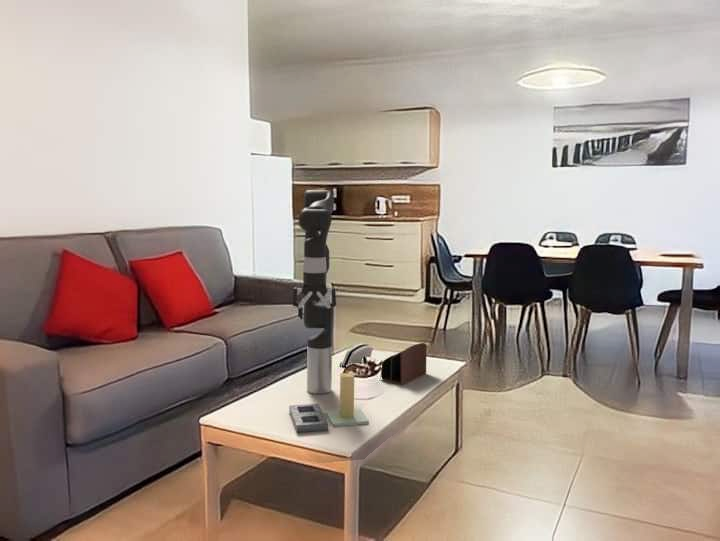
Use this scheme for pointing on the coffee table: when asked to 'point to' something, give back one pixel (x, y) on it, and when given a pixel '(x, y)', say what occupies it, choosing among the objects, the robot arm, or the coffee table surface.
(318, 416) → the frame with square holes
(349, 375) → the plug
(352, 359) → the grey curved piece
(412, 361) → the letter holder
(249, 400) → the coffee table surface
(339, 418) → the pad
